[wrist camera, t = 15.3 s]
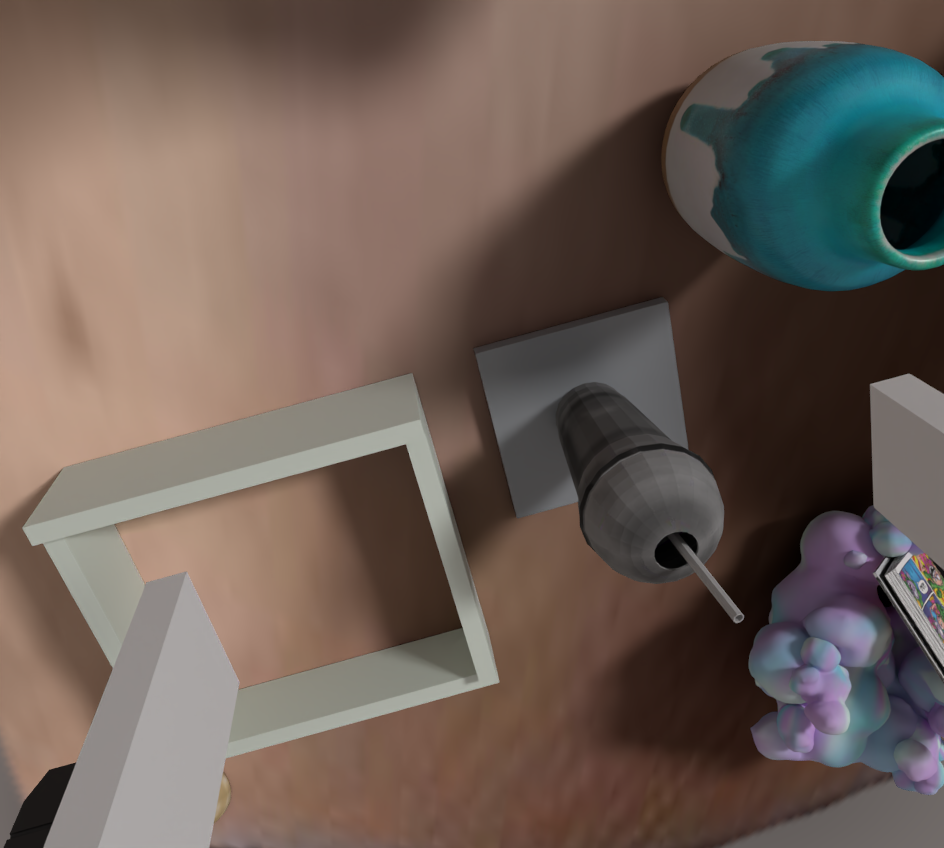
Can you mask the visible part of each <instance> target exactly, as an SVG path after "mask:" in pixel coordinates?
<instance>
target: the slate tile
mask: <svg viewBox="0 0 944 848" xmlns="http://www.w3.org/2000/svg"><path fill="white" fill-rule="evenodd" d="M473 349H474V353H475V357H476V361H477V365H478V369H479V372H480V376H481V380H482V384H483V388H484V392H485V396H486V400H487V404H488V408H489V412H490V416H491V420H492V424H493V428H494V432H495V435H496V439H497V443H498V447H499V451H500V455H501V459H502V463H503V467H504V471H505V475H506V479H507V483H508V487H509V491H510V494H511V498H512V502H513V506H514V510H515V513H516V516H517V518H521V517H524V516H528V515H532V514H535V513H539V512H543V511H546V510H550V509H554V508H557V507H561V506H565V505H568V504H572V503H575V502H578V496H577V492H576V489H575V486H574V483H573V480H572V477H571V474H570V471H569V467H568V464H567V461H566V458H565V455H564V452H563V449H562V446H561V442H560V439H559V436H558V428H557V426H556V412H557V408H558V405H559V403H560V402H561V400H562V399H563V397H564V396H565V395H566V394H567V393H568V392H569V391H571V390H572V389H573V388H575V387H577V386H579V385H582V384H584V383H591V382H598V383H604V384H607V385H609V386H611V387H612V388H614V389H615V390H616V391H617V392H618V393H620V394H621V395H623V396H625V397H626V398H627V399H628V400H629V401H630V402H631V403H632V404H633V405H634V406H635V407H636V408H638V409H639V410H640V411H641V412H642V413H643V414H644V415H645V416H646V417H647V418H648V419H649V420H650V421H651V422H653V423H654V424H655V425H656V426H657V427H658V428H659V429H660V430H661V431H662V432H663V433H664V434H665V435H666V436H668V437H669V438H670V439H671V440H672V441H673V442H675V443H677V444H679V445H681V446H682V447H684V448H686V449H688V442H687V435H686V428H685V421H684V414H683V407H682V399H681V392H680V385H679V378H678V371H677V364H676V357H675V349H674V342H673V335H672V328H671V321H670V314H669V307H668V301H666V300H665V299H664V298H663V297H660V298H657V299H653V300H649V301H646V302H642V303H638V304H635V305H631V306H627V307H624V308H620V309H616V310H613V311H609V312H605V313H602V314H598V315H594V316H591V317H587V318H583V319H580V320H576V321H572V322H568V323H565V324H561V325H557V326H554V327H550V328H546V329H543V330H539V331H535V332H532V333H528V334H524V335H521V336H517V337H513V338H510V339H506V340H502V341H499V342H495V343H491V344H488V345H484V346H480V347H476V348H473ZM688 450H689V449H688Z"/></svg>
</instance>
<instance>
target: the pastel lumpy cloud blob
mask: <svg viewBox="0 0 944 848" xmlns="http://www.w3.org/2000/svg"><path fill="white" fill-rule="evenodd" d="M800 550H801V556H802V557H801V563H800V564H799V565H798V567H797V568H796V569H795V570H794V571H792V572H791V573H790V574H789V575H788V576H787V577H785V578H784V579H783V580H782V581H781V582H780V583H779V584H778V585H777V586H776V587H775V588H774V589H773V591H772V598H771V602H772V608H771V611H770V613H769V625H766V626H764V627H763V628H761V629H760V630H759V631H758V633H757V635H756V636H755V639H754V644H753V648H752V650H751V652H750V655H749V671H750V673H751V676H752V677H754V678H755V683H756V685H757V686H758V687H760V688H761V689H762V690H763V691H764V693H766V694H767V695H768V696H770V697H774V698H775V699H776V701H777V704H778V712H770V713H768V714H766V715H764V716H763V717H762V718H761V719H760V720H759V721H758V722H757V723H756V724H755V725H754V726H752V727H751V728H750V729H751V732H752V735H753V739H754V742H755V745H756V747H757V749H758V751H759V752H760V753H761V754H763V755H764V756H765V757H767V758H769V759H773V760H795V761H803V760H812V761H816V762H821V763H823V764H824V765H827V766H830V767H843V766H847V765H849V764H851V763H856V762H862V763H864V764H866V765H867V766H869V767H872V768H874V769H877V770H879V771H883V772H892V774H893V779H894V782H895V784H896V786H897V787H898V788H901V789H903V790H908V791H916V792H919V793H921V794H926V795H933V794H935V793H936V792H937V791H938V789H939V788H941V787H942V786H943V784H944V767H943V765H942V763H941V761H943V760H944V741H943V740H942V739H941V737H940V736H942V737H944V570H943V569H942V568H941V567H940V566H939V565H938V564H936V563H935V562H934V561H933V560H932V559H931V558H930V557H929V556H927V555H926V554H925V553H924V552H923V551H922V550H921V549H920V548H919V547H917V546H916V545H915V544H914V543H913V542H912V541H911V540H910V539H909V538H907V537H906V536H905V535H904V534H903V533H902V532H901V531H900V530H899V529H897V528H896V527H895V526H894V525H893V524H892V523H891V522H890V521H889V520H887V519H886V518H885V517H884V516H883V515H882V514H881V513H880V512H879V511H877V510H876V509H875V508H874V505H872V506H870V507H869V508H868V509H867V510H866V512H865V513H864V514H863V516H862V517H860V516H858V515H855V514H852V513H848V512H843V511H829V512H825V513H823V514H820V515H818V516H817V517H816V518H814V519H813V520H812V521H811V522H810V523H809V524H808V525H807V527H806V529H805V531H804V533H803V535H802V538H801V542H800ZM878 585H881V587H882V589H883V590H884V592H885V593H886V595H887V596H888V598H889V599H890V601H891V605H890V607H884V606H883V604H882V602H881V601H880V599H879V596H878V594H877V586H878Z"/></svg>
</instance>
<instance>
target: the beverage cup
mask: <svg viewBox="0 0 944 848" xmlns="http://www.w3.org/2000/svg"><path fill="white" fill-rule="evenodd" d="M556 426H557V428H558V436H559V439H560V442H561V446H562V449H563V452H564V455H565V458H566V461H567V464H568V467H569V471H570V474H571V477H572V480H573V483H574V486H575V489H576V492H577V496H578V507H579V515H580V528H581V530H582V533H583V535H584V537H585V540H586V542H587V544H588V545H589V546H590V547H591V548H592V549H593V550H594V551H595V552H596V553H597V554H598V555H599V556H600V557H601V558H602V559H603V560H604V561H605V562H606V563H607V564H608V565H609V566H610V567H611V568H612V569H613V570H615V571H616V572H618V573H620V574H622V575H624V576H626V577H628V578H631V579H633V580H635V581H639V582H646V583H654V584H659V583H666V582H673V581H677V580H680V579H682V578H685V577H687V576H689V575H691V574H693V573H694V572H695V573H696V574H697V575H698V576H699V578H700V579H701V580H702V582H703V583H704V584H705V585H706V587H707V588H708V589H709V591H710V592H711V593H712V594H713V596H714V597H715V598H716V600H717V601H718V602H719V603H720V605H721V606H722V607H723V608H724V610H725V611H726V612H727V614H728V615H729V616H730V617H731V619H732V620H733V621H734V622H735V623H739V622H741V621H742V620H743V619H744V615H743V614H742V613H741V611H740V610H739V609H738V608H737V606H736V605H735V604H734V603H733V601H732V600H731V599H730V597H729V596H728V595H727V594H726V592H725V591H724V590H723V589H722V587H721V586H720V585H719V584H718V582H717V581H716V580H715V579H714V577H713V576H712V575H711V574H710V572H709V571H708V570H707V569H706V567H705V566H704V564H705V563H706V562H707V560H708V559H709V558H710V557H711V555H712V554H713V553H714V551H715V550H716V548H717V545H718V543H719V540H720V538H721V535H722V532H723V522H724V505H723V502H722V499H721V496H720V493H719V490H718V487H717V484H716V481H715V479H714V476H713V473H712V470H711V469H710V468H709V467H708V465H707V464H706V463H705V462H704V461H703V459H702V458H701V457H700V456H699V455H697V454H695V453H693V452H691V451H689V450H688V449H686V448H684V447H682V446H681V445H679V444H677V443H675V442H673V441H672V440H671V439H670V438H669V437H668V436H666V435H665V434H664V433H663V432H662V431H661V430H660V429H659V428H658V427H657V426H656V425H655V424H654V423H653V422H651V421H650V420H649V419H648V418H647V417H646V416H645V415H644V414H643V413H642V412H641V411H640V410H639V409H638V408H636V407H635V406H634V405H633V404H632V403H631V402H630V401H629V400H628V399H627V398H626V397H625V396H623V395H621V394H620V393H618V392H617V391H616V390H615V389H614V388H612V387H611V386H609V385H607V384H604V383H598V382H591V383H584V384H582V385H579V386H577V387H575V388H573V389H572V390H571V391H569V392H568V393H567V394H566V395H565V396H564V397H563V399H562V400H561V402H560V403H559V405H558V408H557V412H556Z"/></svg>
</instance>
